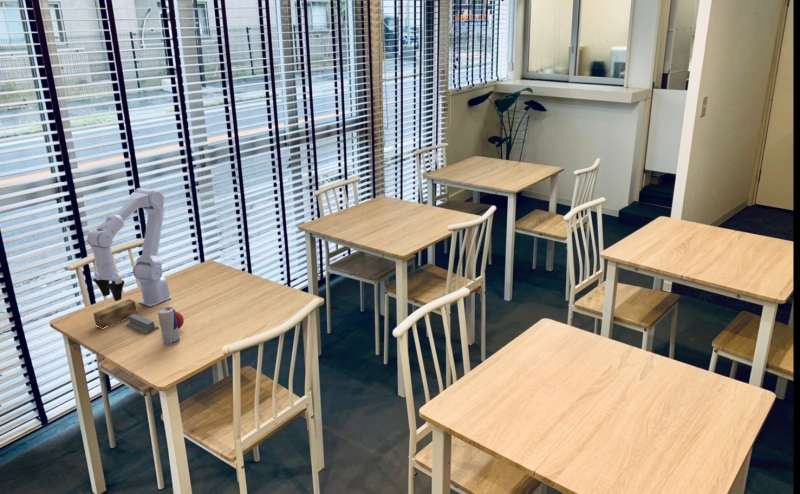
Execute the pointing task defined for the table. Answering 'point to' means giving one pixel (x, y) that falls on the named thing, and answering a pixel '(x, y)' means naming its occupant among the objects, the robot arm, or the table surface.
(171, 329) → the energy drink
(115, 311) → the batten
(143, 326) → the ridge
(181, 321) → the onion
